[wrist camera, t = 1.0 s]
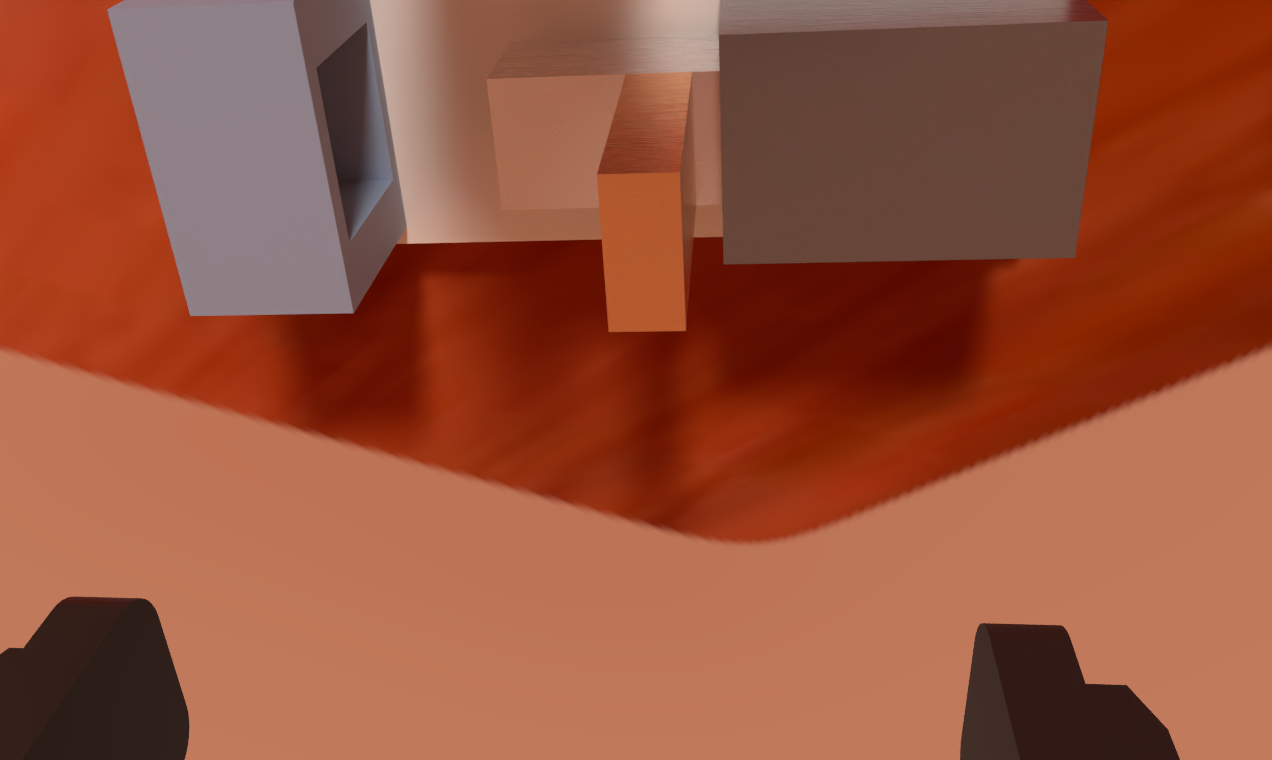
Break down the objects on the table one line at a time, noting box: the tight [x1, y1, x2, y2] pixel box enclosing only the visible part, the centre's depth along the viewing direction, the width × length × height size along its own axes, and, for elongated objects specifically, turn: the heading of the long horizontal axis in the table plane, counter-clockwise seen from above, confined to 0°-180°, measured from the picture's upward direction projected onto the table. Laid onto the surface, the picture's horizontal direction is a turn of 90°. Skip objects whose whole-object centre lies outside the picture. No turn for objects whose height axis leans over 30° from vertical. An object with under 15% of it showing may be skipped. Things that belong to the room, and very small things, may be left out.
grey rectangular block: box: [719, 0, 1108, 264], centre depth 27 cm, size 8×5×5 cm, turn 93°
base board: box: [370, 0, 723, 244], centre depth 30 cm, size 21×8×2 cm, turn 93°
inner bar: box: [487, 35, 722, 332], centre depth 24 cm, size 12×3×9 cm, turn 93°
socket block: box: [107, 0, 407, 316], centre depth 28 cm, size 4×7×5 cm, turn 3°
